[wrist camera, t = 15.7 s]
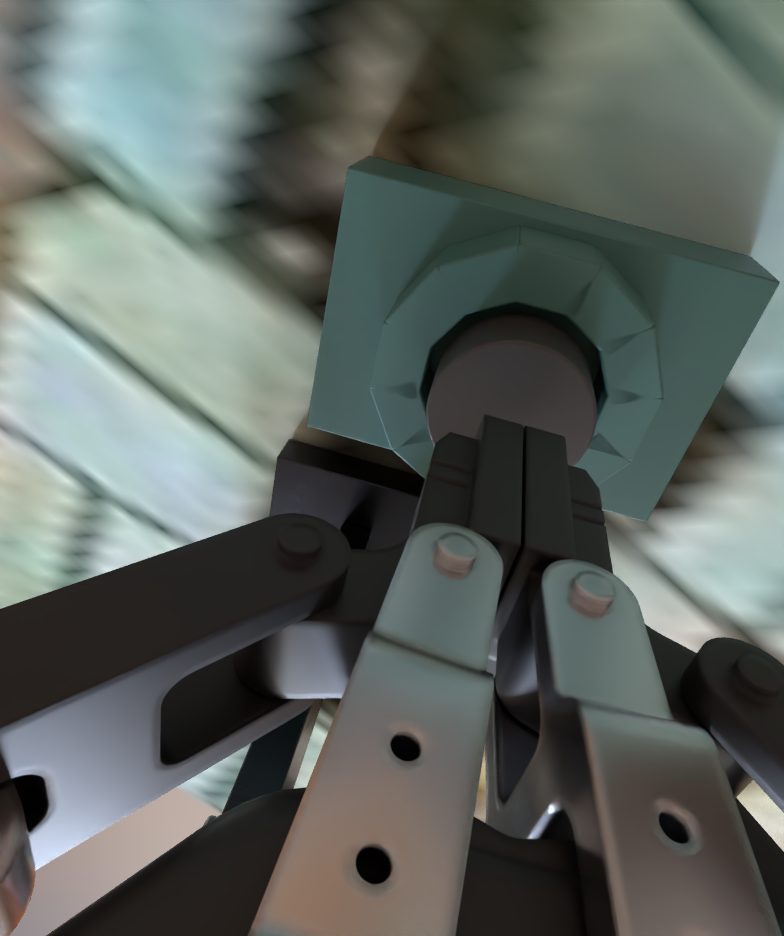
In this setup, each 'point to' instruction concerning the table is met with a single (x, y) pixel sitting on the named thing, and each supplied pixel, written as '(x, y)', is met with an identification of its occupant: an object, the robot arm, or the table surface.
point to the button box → (533, 293)
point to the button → (514, 381)
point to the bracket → (365, 527)
